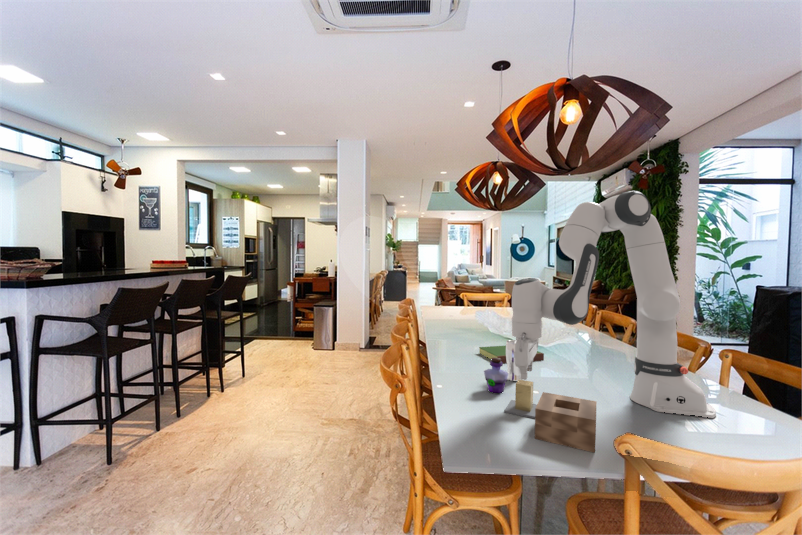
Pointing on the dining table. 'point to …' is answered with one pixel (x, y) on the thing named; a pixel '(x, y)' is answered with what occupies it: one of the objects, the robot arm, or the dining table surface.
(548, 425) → the wooden slotted box
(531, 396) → the tan wooden block
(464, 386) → the dining table surface
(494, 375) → the potion bottle
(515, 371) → the beer glass
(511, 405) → the slate pad
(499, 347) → the hardcover book
